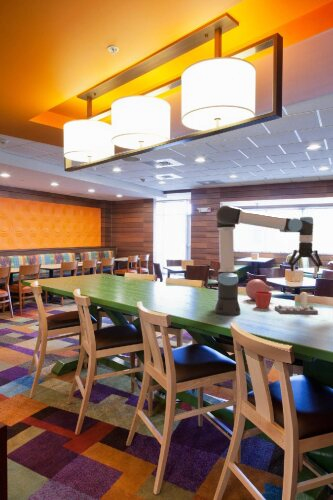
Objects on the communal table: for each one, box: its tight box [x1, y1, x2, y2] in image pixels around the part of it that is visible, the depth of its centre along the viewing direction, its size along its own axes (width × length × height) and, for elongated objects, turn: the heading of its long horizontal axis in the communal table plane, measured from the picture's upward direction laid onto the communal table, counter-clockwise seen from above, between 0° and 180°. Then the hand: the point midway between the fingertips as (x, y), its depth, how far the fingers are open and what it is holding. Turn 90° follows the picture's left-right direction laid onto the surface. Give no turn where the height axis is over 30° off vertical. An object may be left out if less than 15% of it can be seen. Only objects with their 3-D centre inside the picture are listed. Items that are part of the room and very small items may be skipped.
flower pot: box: [254, 291, 273, 309], centre depth 217 cm, size 11×11×10 cm
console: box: [274, 304, 319, 315], centre depth 204 cm, size 22×12×4 cm, turn 89°
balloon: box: [245, 278, 275, 301], centre depth 240 cm, size 15×20×15 cm
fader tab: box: [300, 291, 308, 309], centre depth 204 cm, size 3×4×10 cm
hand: (304, 276), depth 203 cm, fingers open, 13 cm apart
